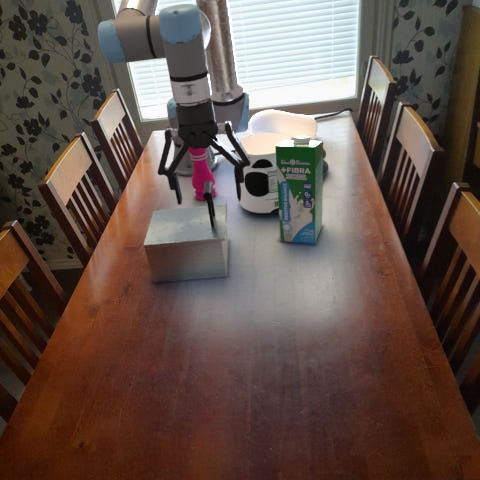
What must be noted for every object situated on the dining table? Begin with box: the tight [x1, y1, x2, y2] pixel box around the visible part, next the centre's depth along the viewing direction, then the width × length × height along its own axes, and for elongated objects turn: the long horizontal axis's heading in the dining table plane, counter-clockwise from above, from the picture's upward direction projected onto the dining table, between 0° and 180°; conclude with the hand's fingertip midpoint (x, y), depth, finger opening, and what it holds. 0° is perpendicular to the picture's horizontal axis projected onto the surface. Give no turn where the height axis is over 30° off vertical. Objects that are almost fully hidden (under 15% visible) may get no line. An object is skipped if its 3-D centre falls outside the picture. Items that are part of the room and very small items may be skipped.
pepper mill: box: [188, 147, 217, 201], centre depth 135 cm, size 7×7×20 cm
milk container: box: [235, 132, 291, 215], centre depth 127 cm, size 17×17×18 cm
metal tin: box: [143, 226, 229, 283], centre depth 112 cm, size 18×16×10 cm
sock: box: [248, 109, 319, 141], centre depth 164 cm, size 25×10×14 cm
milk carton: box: [275, 136, 324, 245], centre depth 111 cm, size 9×9×25 cm
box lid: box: [143, 180, 228, 249], centre depth 105 cm, size 19×16×10 cm
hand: (209, 199), depth 104 cm, fingers open, 13 cm apart
